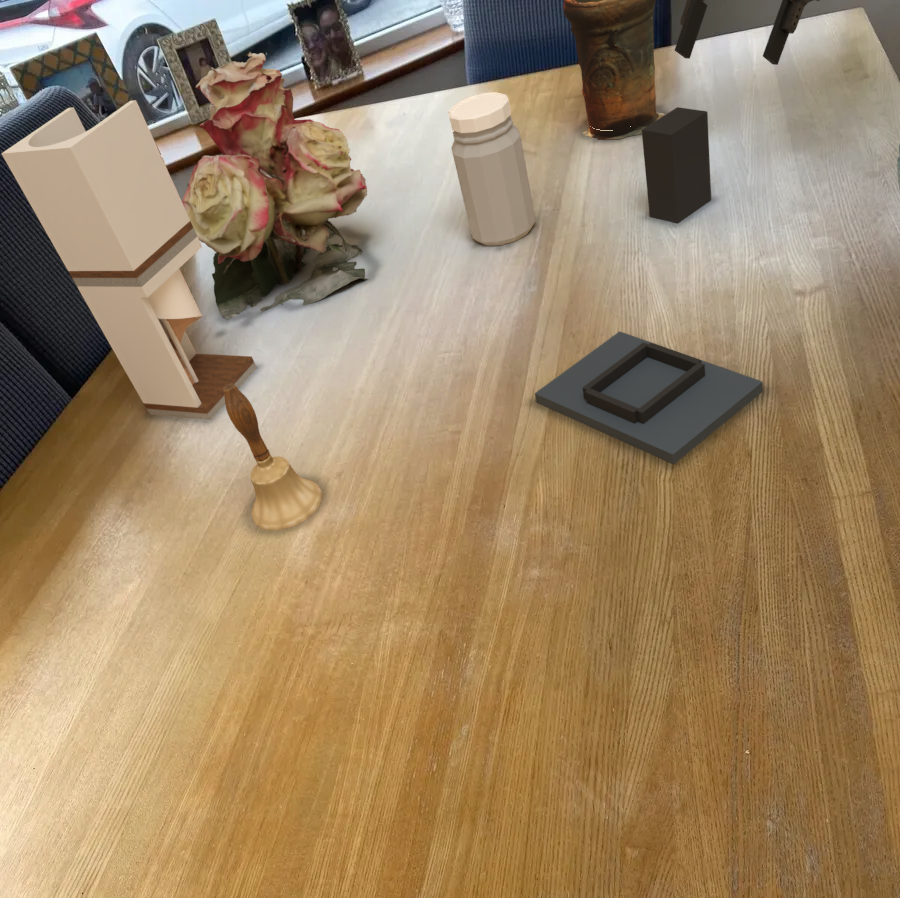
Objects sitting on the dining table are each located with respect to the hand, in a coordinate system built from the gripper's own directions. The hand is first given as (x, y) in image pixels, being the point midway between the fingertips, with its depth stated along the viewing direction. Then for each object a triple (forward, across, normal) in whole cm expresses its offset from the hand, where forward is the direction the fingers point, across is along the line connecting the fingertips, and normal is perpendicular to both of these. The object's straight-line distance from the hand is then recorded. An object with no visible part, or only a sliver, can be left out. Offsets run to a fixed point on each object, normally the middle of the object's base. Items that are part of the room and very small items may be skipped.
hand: (724, 57), depth 122 cm
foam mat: (+42, +23, -24) cm, 54 cm away
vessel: (+5, -29, +19) cm, 35 cm away
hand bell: (+64, +1, -51) cm, 82 cm away
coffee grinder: (+60, -30, -45) cm, 81 cm away
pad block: (+18, -1, +3) cm, 19 cm away
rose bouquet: (+42, -44, -24) cm, 65 cm away
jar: (+28, -21, -8) cm, 36 cm away
